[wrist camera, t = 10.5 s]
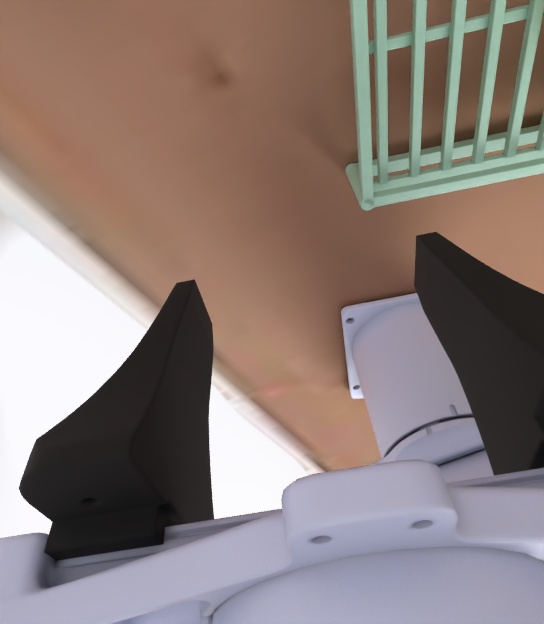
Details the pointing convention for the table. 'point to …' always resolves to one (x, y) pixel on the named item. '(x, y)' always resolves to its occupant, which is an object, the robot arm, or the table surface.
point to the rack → (446, 174)
